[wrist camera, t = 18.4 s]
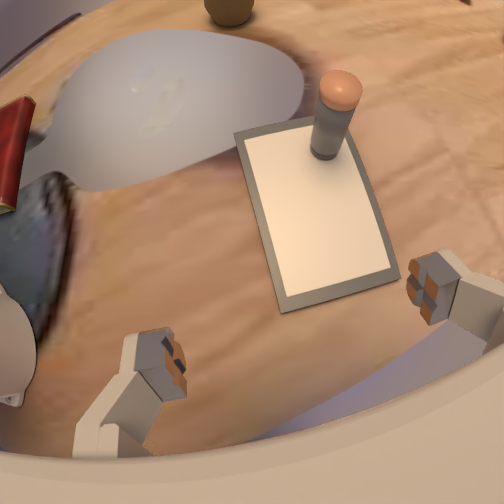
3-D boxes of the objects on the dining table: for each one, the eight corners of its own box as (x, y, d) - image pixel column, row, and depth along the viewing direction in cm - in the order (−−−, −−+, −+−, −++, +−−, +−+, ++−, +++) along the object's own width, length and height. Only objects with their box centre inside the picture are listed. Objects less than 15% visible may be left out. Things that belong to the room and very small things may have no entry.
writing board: (280, 313, 35) (281, 313, 33) (234, 137, 39) (233, 132, 38) (398, 279, 34) (402, 278, 33) (339, 115, 39) (340, 110, 38)
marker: (314, 165, 36) (329, 104, 24) (304, 138, 37) (314, 72, 25) (344, 158, 36) (369, 98, 24) (333, 132, 37) (352, 68, 25)
